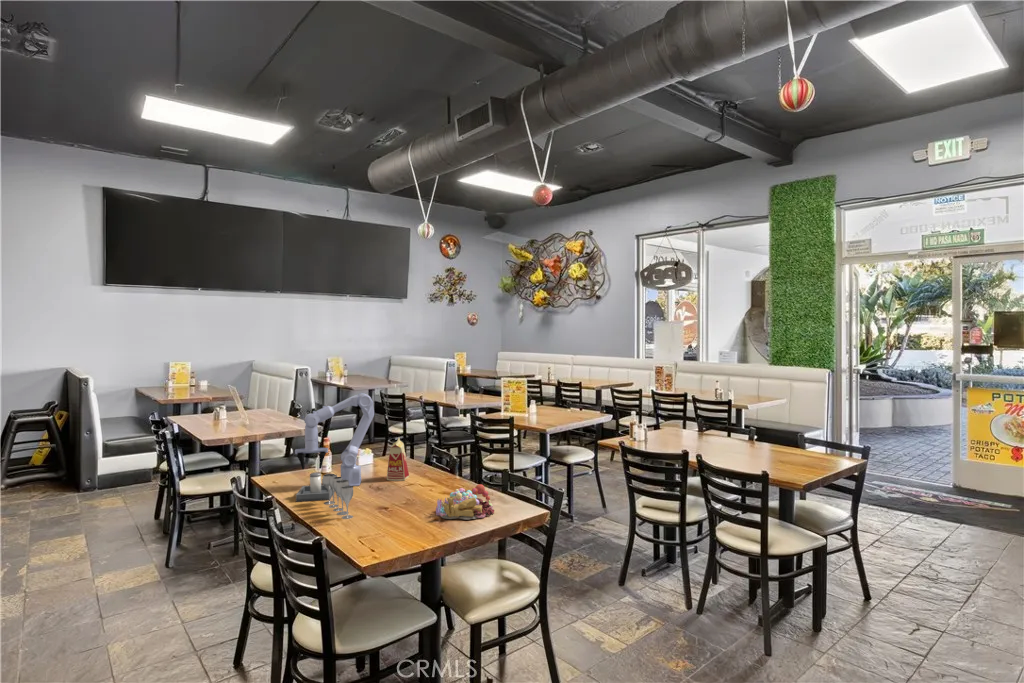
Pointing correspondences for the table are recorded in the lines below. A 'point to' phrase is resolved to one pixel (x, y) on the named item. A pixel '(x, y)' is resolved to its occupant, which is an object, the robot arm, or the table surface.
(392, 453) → the milk carton
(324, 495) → the tray
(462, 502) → the candy landscape model
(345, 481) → the goblet set
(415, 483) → the table surface
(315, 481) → the cylinder
